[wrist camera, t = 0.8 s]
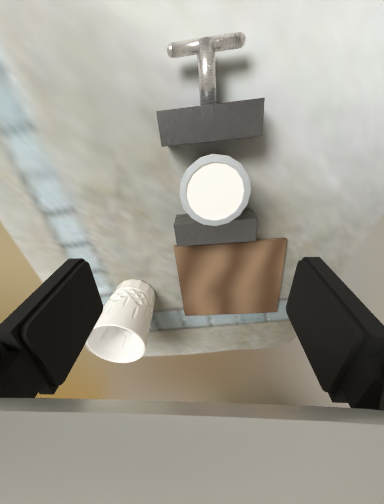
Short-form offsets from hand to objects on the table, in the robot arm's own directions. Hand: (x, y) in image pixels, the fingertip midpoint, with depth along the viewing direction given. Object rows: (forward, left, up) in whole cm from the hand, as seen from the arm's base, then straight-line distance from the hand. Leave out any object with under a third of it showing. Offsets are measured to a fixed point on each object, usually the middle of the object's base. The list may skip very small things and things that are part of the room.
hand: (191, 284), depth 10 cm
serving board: (-4, +15, -20) cm, 25 cm away
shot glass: (-2, -1, -20) cm, 20 cm away
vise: (-2, -3, -20) cm, 20 cm away
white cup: (+12, +17, -20) cm, 29 cm away
